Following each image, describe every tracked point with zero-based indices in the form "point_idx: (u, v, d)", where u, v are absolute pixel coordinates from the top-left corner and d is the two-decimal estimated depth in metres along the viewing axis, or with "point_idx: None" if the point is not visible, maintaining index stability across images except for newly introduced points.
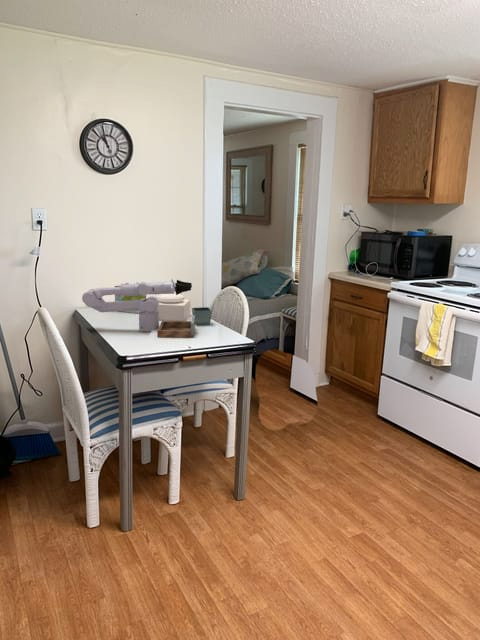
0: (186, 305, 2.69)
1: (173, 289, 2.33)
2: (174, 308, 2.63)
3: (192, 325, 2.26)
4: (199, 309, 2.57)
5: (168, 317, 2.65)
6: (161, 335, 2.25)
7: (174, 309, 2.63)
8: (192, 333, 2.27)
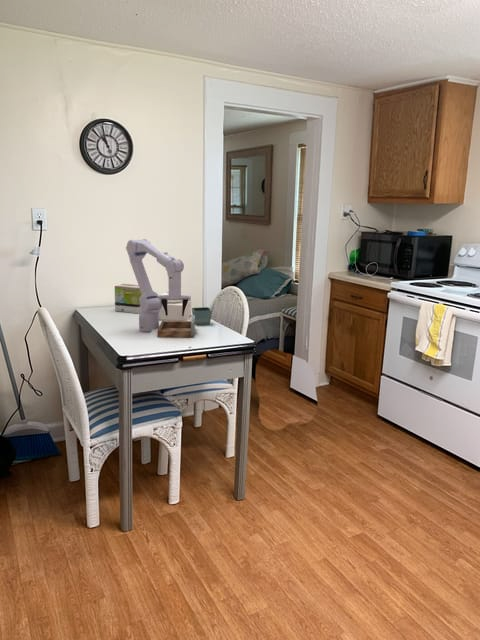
0: (187, 305, 2.70)
1: (158, 298, 2.31)
2: (175, 308, 2.64)
3: (192, 325, 2.26)
4: (199, 309, 2.57)
5: (169, 317, 2.65)
6: (161, 335, 2.25)
7: (175, 309, 2.64)
8: (192, 333, 2.27)
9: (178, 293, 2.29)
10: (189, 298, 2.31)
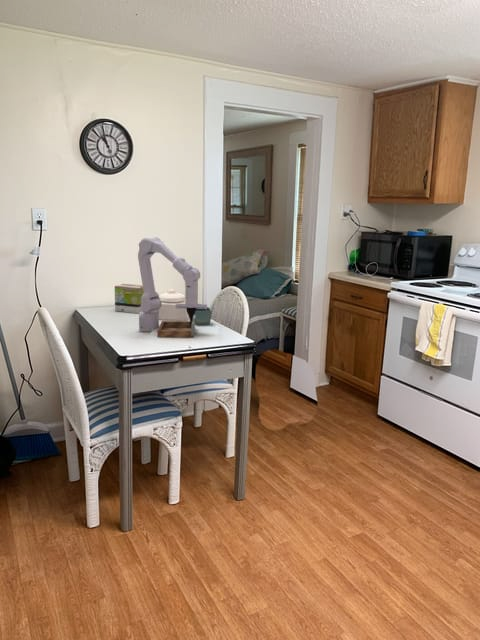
0: None
1: None
2: (175, 308, 2.65)
3: (193, 325, 2.26)
4: (199, 309, 2.57)
5: (169, 316, 2.66)
6: (161, 335, 2.25)
7: (175, 309, 2.65)
8: (192, 333, 2.27)
9: (195, 302, 2.30)
10: (206, 307, 2.32)
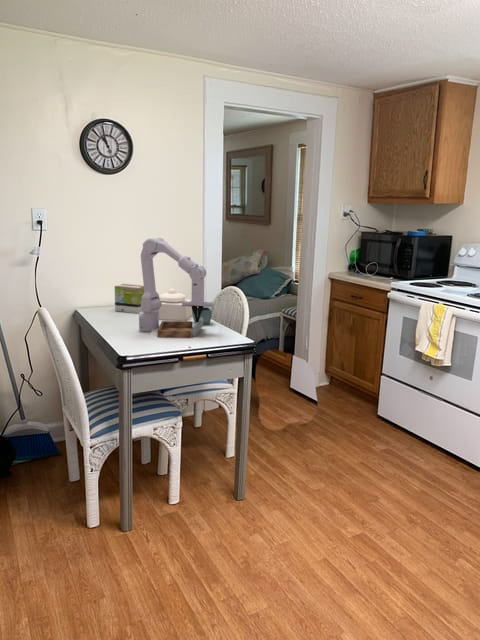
0: None
1: None
2: (176, 307, 2.65)
3: (200, 327, 2.27)
4: None
5: (170, 316, 2.66)
6: (161, 335, 2.25)
7: (176, 308, 2.65)
8: (195, 333, 2.27)
9: (201, 300, 2.30)
10: (212, 305, 2.32)
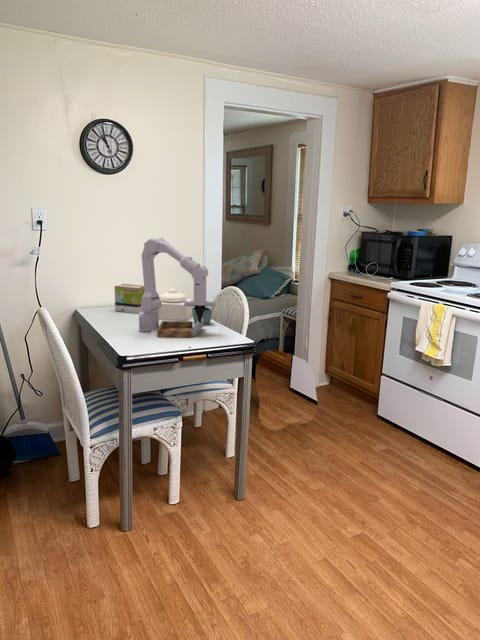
0: None
1: (184, 305, 2.32)
2: (176, 307, 2.65)
3: (200, 327, 2.27)
4: None
5: (170, 316, 2.67)
6: (161, 335, 2.25)
7: (176, 308, 2.66)
8: (195, 333, 2.27)
9: (203, 299, 2.30)
10: (214, 304, 2.32)
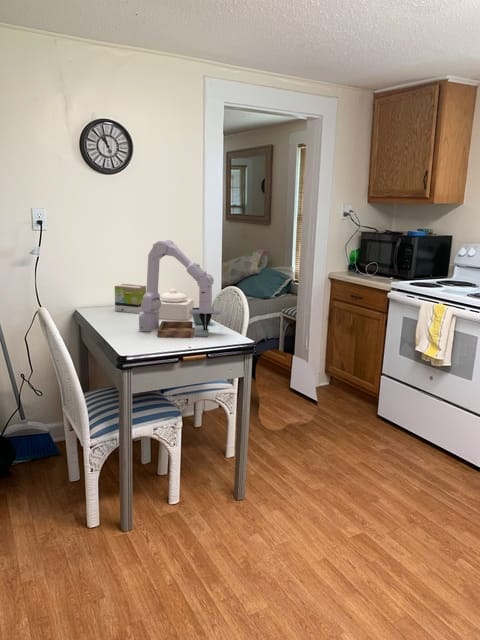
0: (189, 304, 2.72)
1: None
2: (177, 307, 2.66)
3: (205, 335, 2.27)
4: None
5: (171, 316, 2.67)
6: (161, 335, 2.25)
7: (177, 308, 2.66)
8: (197, 335, 2.27)
9: (209, 308, 2.31)
10: (220, 312, 2.33)
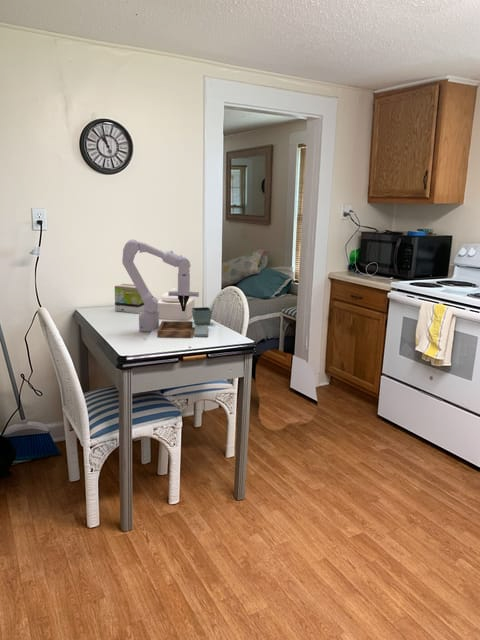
0: (190, 304, 2.72)
1: None
2: (177, 307, 2.66)
3: (205, 335, 2.27)
4: (199, 309, 2.57)
5: (171, 316, 2.68)
6: (161, 335, 2.25)
7: (177, 308, 2.67)
8: (197, 335, 2.27)
9: (187, 289, 2.41)
10: (197, 294, 2.42)
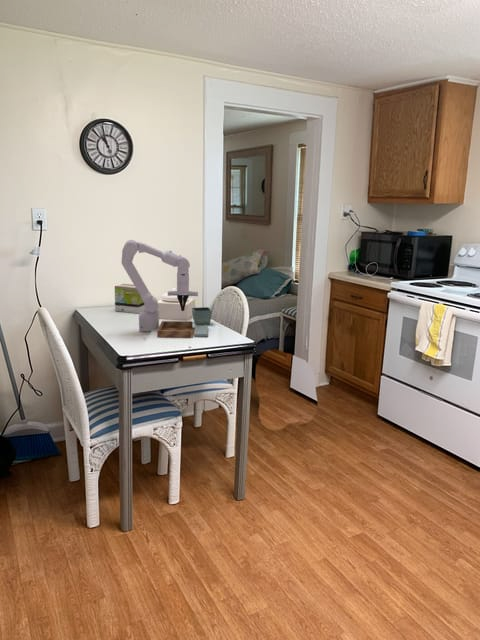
0: (190, 304, 2.73)
1: None
2: (178, 307, 2.67)
3: (205, 335, 2.27)
4: (199, 309, 2.57)
5: (172, 316, 2.68)
6: (161, 335, 2.25)
7: (178, 308, 2.67)
8: (197, 335, 2.27)
9: (186, 289, 2.41)
10: (196, 294, 2.43)
